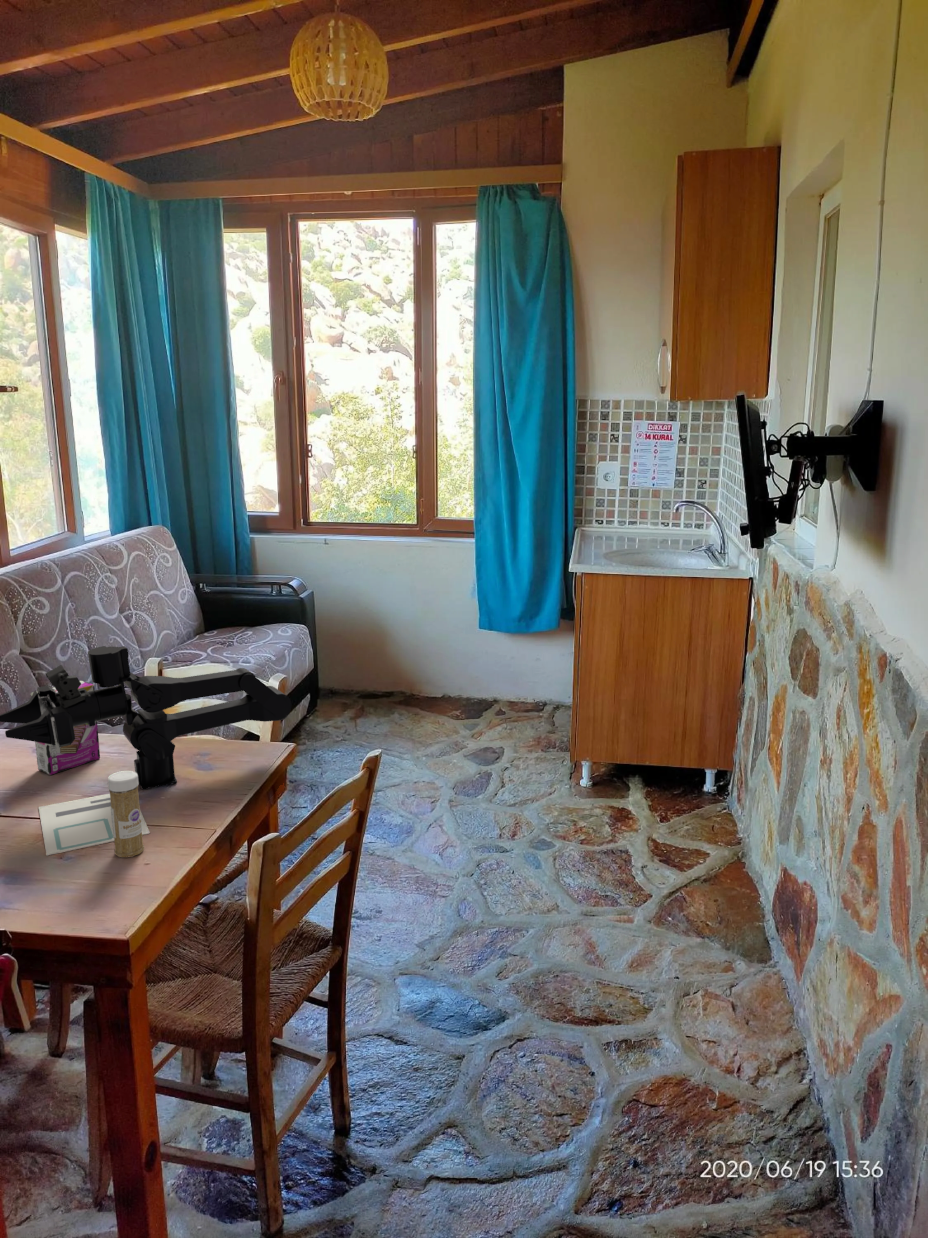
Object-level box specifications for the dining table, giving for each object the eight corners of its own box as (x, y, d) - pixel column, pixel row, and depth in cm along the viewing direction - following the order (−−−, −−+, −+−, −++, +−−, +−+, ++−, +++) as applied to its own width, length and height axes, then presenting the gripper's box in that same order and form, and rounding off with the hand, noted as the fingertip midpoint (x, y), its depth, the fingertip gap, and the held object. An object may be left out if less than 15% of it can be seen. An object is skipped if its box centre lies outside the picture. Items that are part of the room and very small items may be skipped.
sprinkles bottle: (133, 860, 139) (126, 782, 136) (108, 857, 140) (101, 779, 137) (150, 846, 144) (143, 771, 141) (125, 843, 145) (118, 768, 142)
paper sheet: (131, 790, 165) (131, 789, 165) (149, 833, 148) (149, 832, 148) (38, 807, 158) (38, 806, 158) (46, 855, 141) (46, 854, 141)
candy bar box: (50, 776, 171) (41, 697, 168) (37, 770, 174) (28, 692, 170) (102, 759, 180) (95, 683, 176) (88, 753, 183) (81, 679, 179)
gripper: (79, 652, 166) (-13, 669, 157) (100, 676, 150) (0, 697, 142) (88, 707, 168) (-2, 727, 160) (110, 736, 153) (12, 760, 145)
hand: (2, 726), depth 152 cm, fingers open, 9 cm apart
